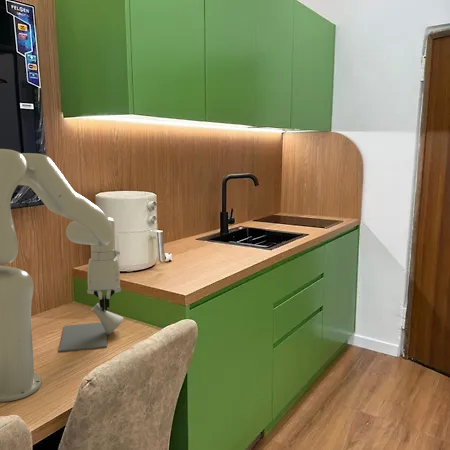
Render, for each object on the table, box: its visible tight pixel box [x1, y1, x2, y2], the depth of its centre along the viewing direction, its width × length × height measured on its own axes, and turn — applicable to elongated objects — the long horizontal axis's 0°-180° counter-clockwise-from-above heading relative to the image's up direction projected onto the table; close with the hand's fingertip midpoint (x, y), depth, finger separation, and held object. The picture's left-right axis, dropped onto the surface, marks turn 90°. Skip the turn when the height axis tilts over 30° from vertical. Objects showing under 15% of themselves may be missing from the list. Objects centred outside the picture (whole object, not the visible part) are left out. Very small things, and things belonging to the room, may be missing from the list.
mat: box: [58, 322, 108, 353], centre depth 141 cm, size 14×20×1 cm
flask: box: [90, 302, 124, 336], centre depth 142 cm, size 7×7×10 cm
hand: (104, 309), depth 141 cm, fingers closed
